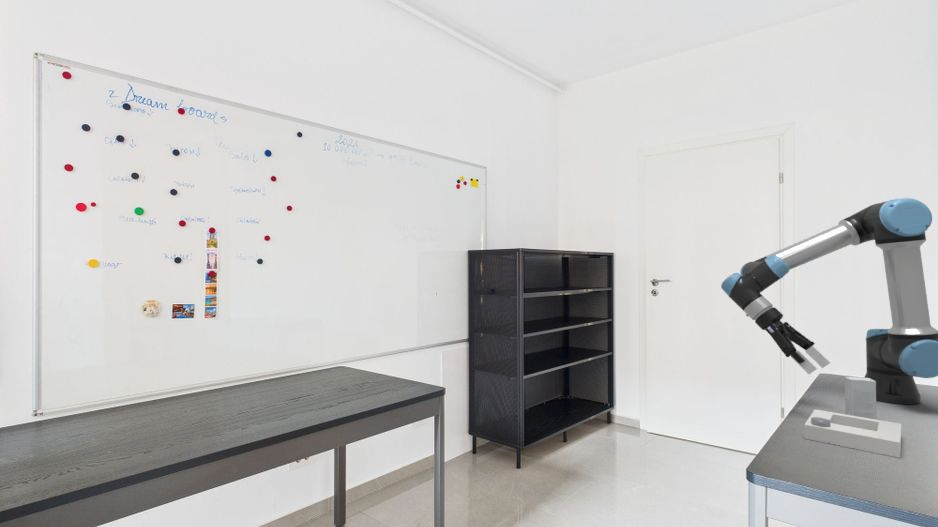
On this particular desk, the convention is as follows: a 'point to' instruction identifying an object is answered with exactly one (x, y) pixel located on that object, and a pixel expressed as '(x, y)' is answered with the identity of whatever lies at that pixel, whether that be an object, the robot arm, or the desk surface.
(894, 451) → the housing
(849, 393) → the skincare box
